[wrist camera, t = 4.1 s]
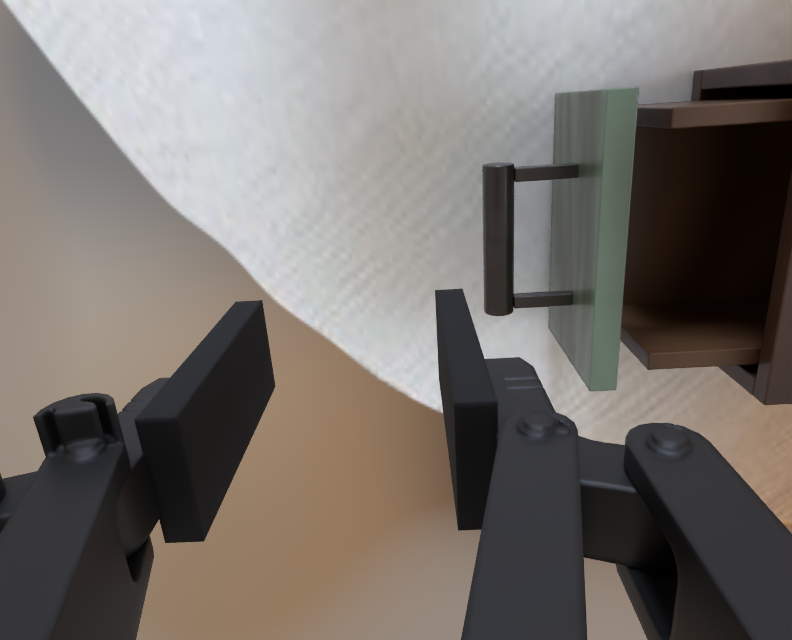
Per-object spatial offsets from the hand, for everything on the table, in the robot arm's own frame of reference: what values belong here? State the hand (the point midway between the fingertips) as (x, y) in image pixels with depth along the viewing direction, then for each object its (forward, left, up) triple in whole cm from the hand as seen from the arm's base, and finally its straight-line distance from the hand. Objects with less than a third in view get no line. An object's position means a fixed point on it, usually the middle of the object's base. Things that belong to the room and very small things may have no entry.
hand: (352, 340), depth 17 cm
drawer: (0, +14, -16) cm, 21 cm away
